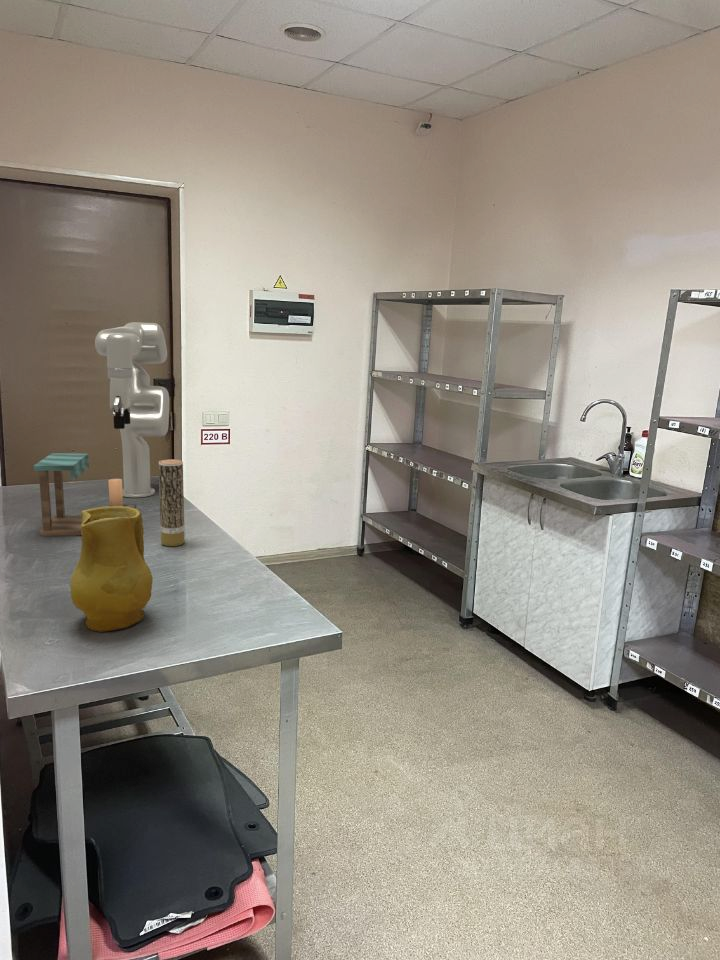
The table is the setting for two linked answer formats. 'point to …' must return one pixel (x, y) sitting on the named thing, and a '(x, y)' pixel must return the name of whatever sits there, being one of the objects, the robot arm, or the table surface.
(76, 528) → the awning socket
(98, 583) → the pitcher
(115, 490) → the peg
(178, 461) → the paper tube
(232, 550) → the table surface
